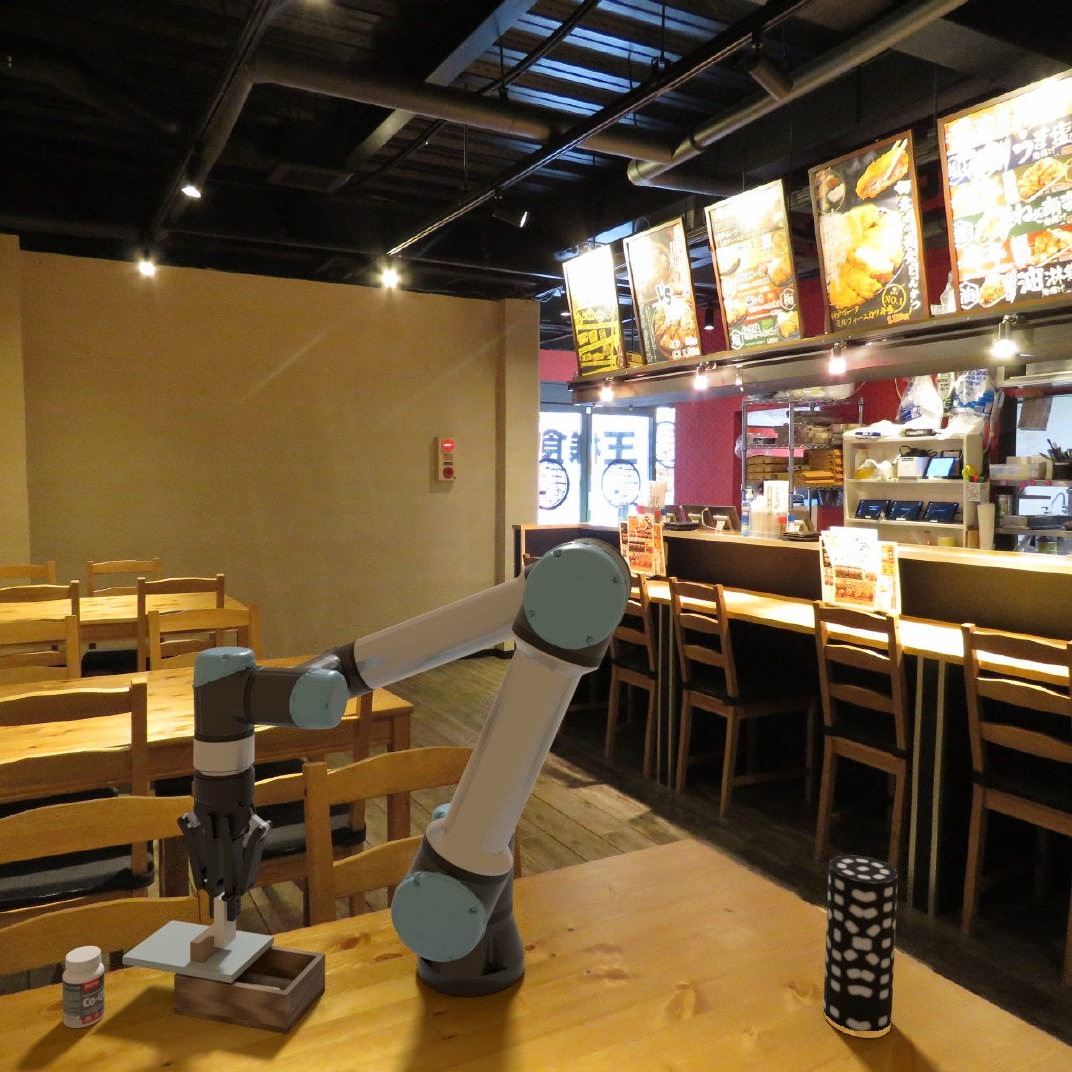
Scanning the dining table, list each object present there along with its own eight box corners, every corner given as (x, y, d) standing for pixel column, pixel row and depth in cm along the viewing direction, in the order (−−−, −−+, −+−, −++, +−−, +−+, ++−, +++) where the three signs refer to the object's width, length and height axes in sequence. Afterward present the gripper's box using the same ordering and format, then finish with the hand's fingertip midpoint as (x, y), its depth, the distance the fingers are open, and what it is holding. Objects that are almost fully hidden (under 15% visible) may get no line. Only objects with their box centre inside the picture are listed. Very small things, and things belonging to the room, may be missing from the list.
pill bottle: (87, 1031, 110) (86, 966, 109) (54, 1026, 111) (53, 961, 110) (113, 1009, 114) (112, 946, 114) (81, 1004, 115) (80, 942, 115)
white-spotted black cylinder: (858, 1046, 110) (865, 888, 109) (809, 1010, 117) (815, 862, 116) (905, 1028, 114) (912, 875, 112) (855, 994, 121) (861, 850, 120)
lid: (273, 943, 121) (273, 918, 121) (231, 982, 112) (231, 955, 111) (172, 927, 125) (171, 902, 125) (122, 963, 116) (122, 937, 115)
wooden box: (325, 990, 120) (325, 953, 119) (286, 1034, 110) (286, 994, 110) (220, 971, 124) (220, 937, 123) (174, 1012, 114) (174, 975, 114)
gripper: (284, 762, 118) (284, 935, 119) (198, 753, 121) (199, 922, 123) (253, 780, 111) (253, 964, 112) (162, 770, 114) (163, 949, 115)
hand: (225, 942), depth 117 cm, fingers closed
